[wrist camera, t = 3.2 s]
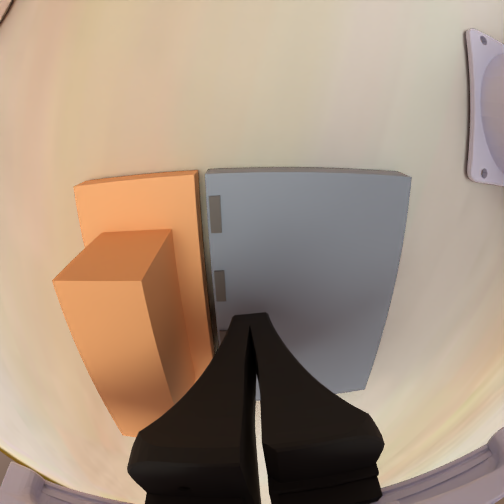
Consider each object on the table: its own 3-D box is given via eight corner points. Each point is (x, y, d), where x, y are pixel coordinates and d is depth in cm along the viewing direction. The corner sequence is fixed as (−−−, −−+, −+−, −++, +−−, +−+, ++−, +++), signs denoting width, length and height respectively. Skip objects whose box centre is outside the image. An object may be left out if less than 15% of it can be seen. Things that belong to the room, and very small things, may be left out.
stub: (198, 170, 11) (168, 204, 7) (219, 386, 16) (215, 462, 12) (85, 180, 11) (12, 218, 7) (137, 383, 16) (117, 452, 12)
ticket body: (398, 171, 12) (412, 177, 11) (359, 375, 17) (365, 390, 15) (208, 169, 12) (204, 174, 10) (226, 385, 16) (225, 402, 15)
